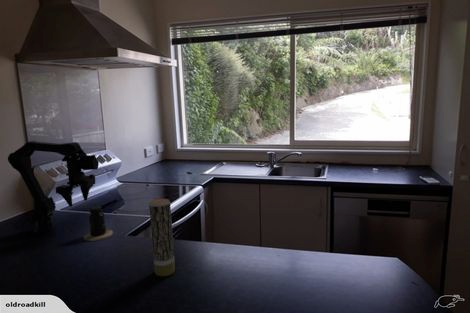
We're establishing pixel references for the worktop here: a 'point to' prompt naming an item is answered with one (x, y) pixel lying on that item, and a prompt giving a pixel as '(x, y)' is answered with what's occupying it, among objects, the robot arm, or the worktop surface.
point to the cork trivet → (98, 238)
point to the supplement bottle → (97, 221)
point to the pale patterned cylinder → (162, 237)
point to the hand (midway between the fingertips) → (78, 203)
